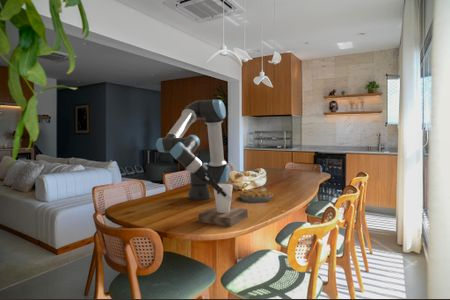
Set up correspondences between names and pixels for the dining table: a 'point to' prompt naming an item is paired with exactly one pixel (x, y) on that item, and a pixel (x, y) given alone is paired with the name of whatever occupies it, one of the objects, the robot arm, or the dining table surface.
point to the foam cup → (220, 201)
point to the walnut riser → (223, 216)
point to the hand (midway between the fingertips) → (227, 197)
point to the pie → (255, 195)
